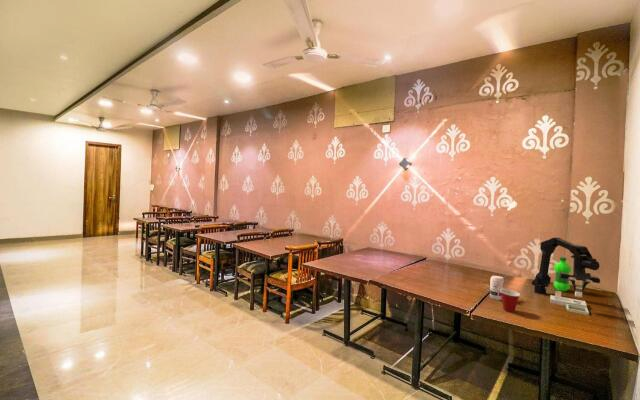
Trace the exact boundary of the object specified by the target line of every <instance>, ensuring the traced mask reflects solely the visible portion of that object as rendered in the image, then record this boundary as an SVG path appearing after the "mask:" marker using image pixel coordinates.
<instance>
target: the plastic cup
mask: <svg viewBox="0 0 640 400" xmlns="http://www.w3.org/2000/svg"><path fill="white" fill-rule="evenodd" d="M500 292H501V296H502V300H501V302H502V308H503V311H504V310H505V312H507V313H515V310H516V308H517V304H518V300H519V298H520V296H521V293H520V292H518V291H515V290H512V289H507V288H504V289H501V290H500Z"/></svg>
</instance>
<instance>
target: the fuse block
mask: <svg viewBox="0 0 640 400" xmlns="http://www.w3.org/2000/svg"><path fill="white" fill-rule="evenodd" d="M549 297H550V299H549V301H550V304H554V305H559V306H565V307H566V304H570V305H576V306H581V307H587V306H588V305H587V302H586V301H585V300H580V299H575V298H569V297H564V296H561V300H560V299H555V295H552V294H550V296H549ZM587 308H588V307H587Z"/></svg>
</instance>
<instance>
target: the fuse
mask: <svg viewBox="0 0 640 400" xmlns="http://www.w3.org/2000/svg"><path fill="white" fill-rule="evenodd" d="M554 296H555V299H560V300H561V297H562V291H559V290H555V294H554Z"/></svg>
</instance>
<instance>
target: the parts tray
mask: <svg viewBox="0 0 640 400" xmlns="http://www.w3.org/2000/svg"><path fill="white" fill-rule="evenodd" d="M565 308H566V311H567V312H571V313H575V314H582V315H585V316H589V315H590V311H589V310H588V307H581V306H576V305H570V304H566V306H565Z"/></svg>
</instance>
